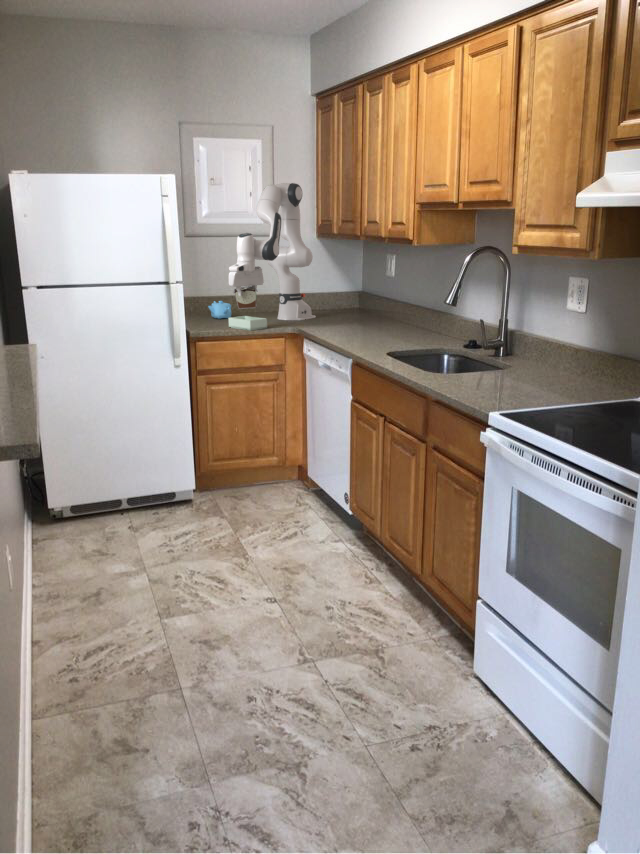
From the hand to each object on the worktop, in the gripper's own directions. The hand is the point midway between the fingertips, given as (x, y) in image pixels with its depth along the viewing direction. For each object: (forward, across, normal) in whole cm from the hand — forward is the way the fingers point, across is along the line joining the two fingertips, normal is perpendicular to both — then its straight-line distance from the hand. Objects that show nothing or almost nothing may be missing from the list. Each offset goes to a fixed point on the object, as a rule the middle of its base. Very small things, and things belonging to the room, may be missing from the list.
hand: (246, 295), depth 385 cm
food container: (+6, -2, -1) cm, 7 cm away
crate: (+16, 0, 0) cm, 16 cm away
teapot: (+17, -13, -39) cm, 45 cm away
